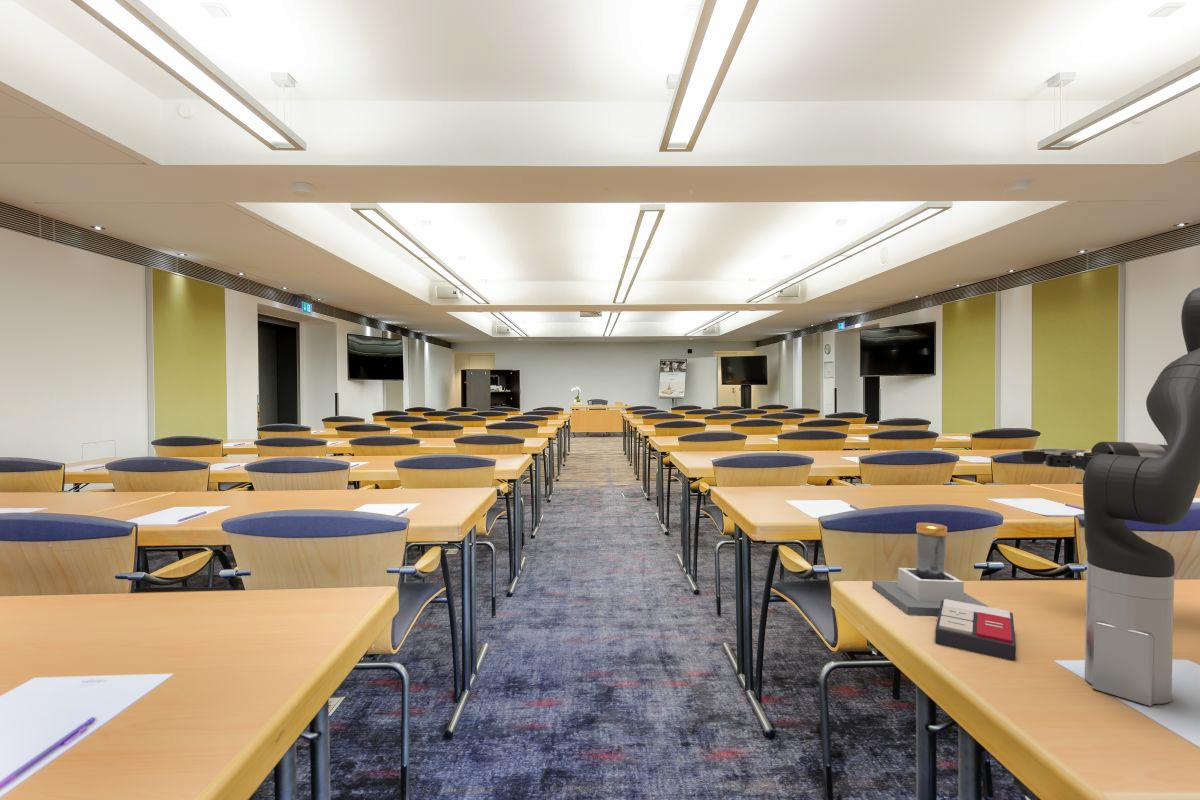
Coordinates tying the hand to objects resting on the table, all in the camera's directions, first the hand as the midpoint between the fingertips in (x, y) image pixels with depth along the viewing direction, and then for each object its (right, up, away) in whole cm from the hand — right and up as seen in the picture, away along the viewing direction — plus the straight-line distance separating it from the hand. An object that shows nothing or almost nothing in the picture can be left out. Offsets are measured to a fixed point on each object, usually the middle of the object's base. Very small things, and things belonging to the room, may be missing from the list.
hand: (1034, 458), depth 113 cm
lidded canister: (-18, -28, +4) cm, 34 cm away
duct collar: (-18, -30, +4) cm, 35 cm away
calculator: (-20, -30, -13) cm, 39 cm away
